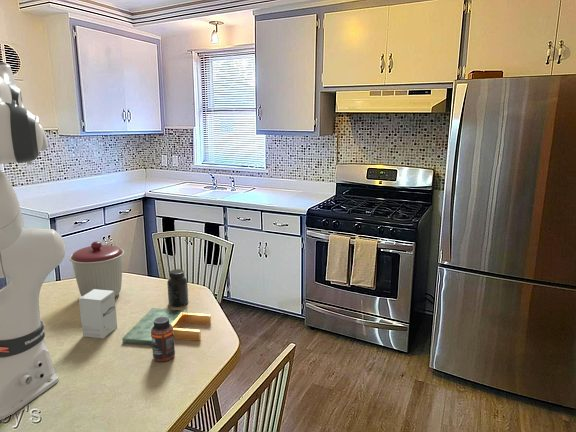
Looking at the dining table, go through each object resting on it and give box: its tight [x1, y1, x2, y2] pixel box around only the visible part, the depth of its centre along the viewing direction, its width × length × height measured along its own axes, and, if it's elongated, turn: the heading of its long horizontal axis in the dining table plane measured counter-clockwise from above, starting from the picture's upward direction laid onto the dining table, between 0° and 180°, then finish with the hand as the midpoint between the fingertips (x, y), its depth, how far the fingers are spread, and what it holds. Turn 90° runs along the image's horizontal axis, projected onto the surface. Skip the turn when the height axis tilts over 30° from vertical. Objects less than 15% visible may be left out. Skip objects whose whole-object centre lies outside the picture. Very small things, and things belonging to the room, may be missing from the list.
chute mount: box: [121, 307, 212, 346], centre depth 132 cm, size 20×22×3 cm
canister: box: [68, 240, 125, 298], centre depth 153 cm, size 18×18×21 cm
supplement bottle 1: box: [151, 317, 176, 363], centre depth 116 cm, size 6×6×11 cm
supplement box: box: [78, 289, 118, 340], centre depth 129 cm, size 7×7×13 cm
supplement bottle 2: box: [167, 268, 189, 308], centre depth 149 cm, size 7×7×12 cm
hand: (11, 163), depth 127 cm, fingers open, 8 cm apart
